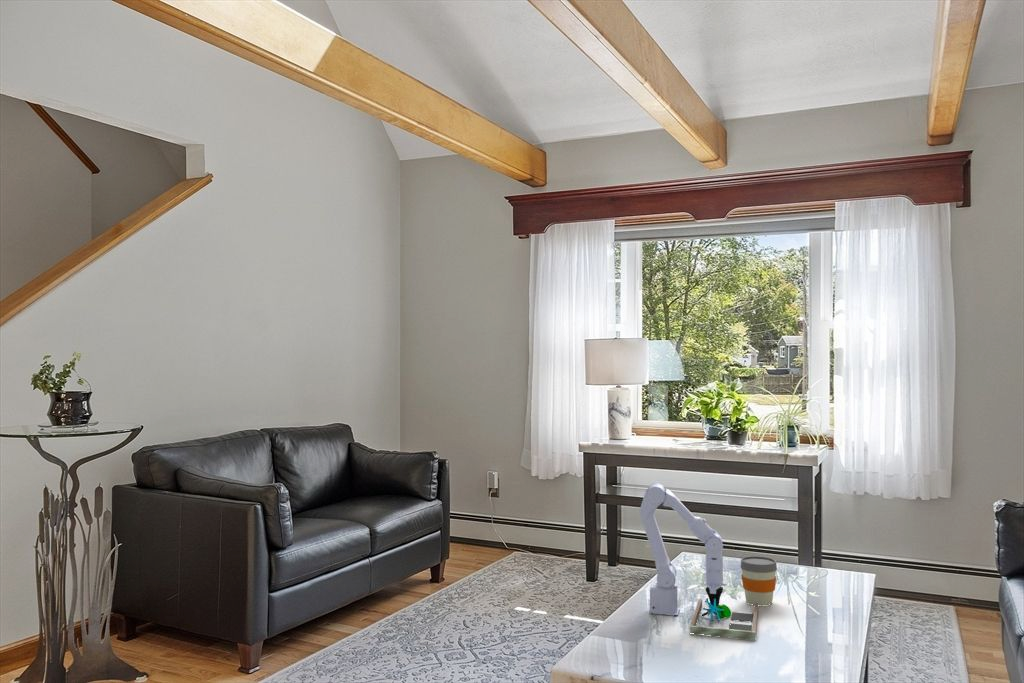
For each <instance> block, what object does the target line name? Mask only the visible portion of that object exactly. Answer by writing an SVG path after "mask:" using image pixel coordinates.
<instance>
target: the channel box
mask: <svg viewBox="0 0 1024 683" xmlns="http://www.w3.org/2000/svg"><path fill="white" fill-rule="evenodd" d="M702 609H703V599H702V598H699V599H698V602H697V604H696V607H695V610H694V614H693V616H692V619H691V622H690V626H689V634H690V633H694V634H704V635H711V636H710V637H714V636H720V637H719V638H724V637H730V638H729V639H734V638H738V640H745V639H746V640H747V641H756V639H755V638H757V637H756V636H757V629H756V628H758V627H757V626H758V619H759V618H758V616H759V606H758V604H755V605H754V608H753V609H754V611H753V621H752V630H751V631H745V630H735V629H729V628H723V627H714V626H713V627H711V626H702V625H701V626H700V625H697V624H698V621H697V620H699V618H700V615H699V614H701V612H700V611H702ZM698 617H699V618H698ZM696 623H697V624H696Z"/></svg>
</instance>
